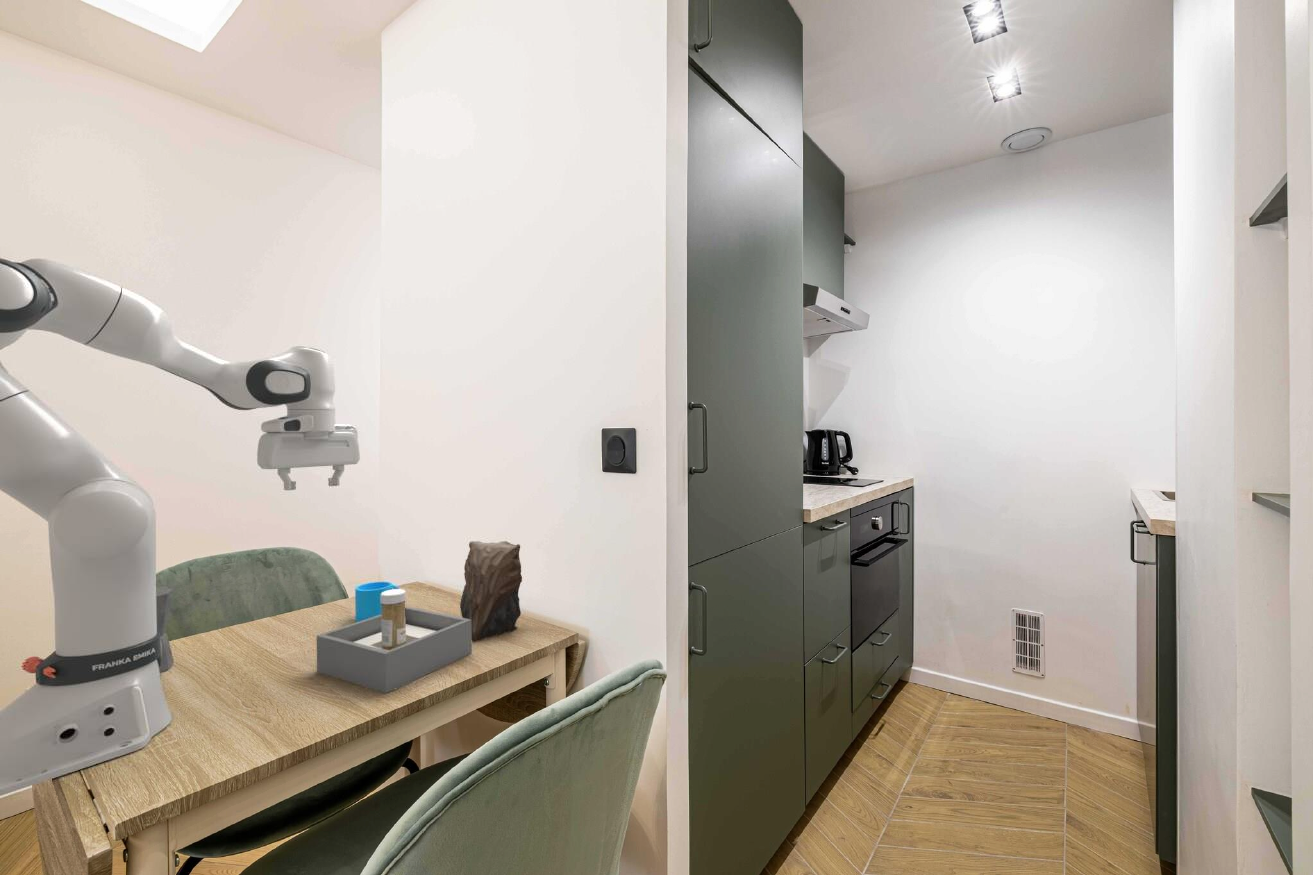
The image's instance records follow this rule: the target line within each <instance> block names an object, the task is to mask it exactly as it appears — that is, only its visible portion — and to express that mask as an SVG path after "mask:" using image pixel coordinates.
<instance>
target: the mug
mask: <svg viewBox="0 0 1313 875" xmlns="http://www.w3.org/2000/svg"><path fill="white" fill-rule="evenodd" d="M354 589H355V590H354V591H355V595H354V597H355V602H354V603H355V604H354V605H355V610H354V611H355V623H356V622H359V621H362V620H366V619H369V618H372V617H375V616H378V615H381V614H382V605H381V593H382V592H384V591H387V590H393V589H400V588H399V587H398V586H397V585H396V584H393V583H392V582H389V581H374V582H373V581H372V582H367V583H362V584H359V585H358V586H356V587H355V588H354Z"/></svg>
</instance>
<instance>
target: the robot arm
mask: <svg viewBox="0 0 1313 875" xmlns="http://www.w3.org/2000/svg"><path fill="white" fill-rule="evenodd" d="M28 330H33V331H35V330H37V331H43V332H50V333H52V334H57V335H60V336H62V337H64V338H67V339H69V340H70V341H71V340H72V341H74V342H77V343H79V344H82V345H84V346H87V347H89V348H91V349H95V350H98V351H101V352H103V353H107V354H110V355H113V356H117V357H120V358H124V359H129V360H131V361H135V362H139V363H143V364H146V365H150V366H153V367H156V368H158V369H160V370H163V371H164V372H167V373H170V374H172V375H174V376H177V377H179V378H182V379H184V380H185V381H186V380H187V381H189V382H191V383H193V384H196V385H198V386H199V387H200V386H201V387H202V388H203V389H205V390H207V391H209V392H210V393H211V394H212V395H213V396H214V397H216V398H217V399H218V400H219V401H220V402H221V403H223V404H224V405H226V406H227V407H229V408H231V409H233V410H238V411H251V410H256V409H261V408H262V409H264V408H265V409H266V408H275V407H280V406H284V405H285V406H286V414H287V415H284V416H280V417H277V418H274V419H270V420H267V421H263V422H262V423H261V425H260V429H261V431H262V432H263V434H262V435H261V436H260V438H259V440H258V444H257V451H256V452H257V454H256V456H257V458H256V460H257V461H256V462H257V465H258V466H259V467H260V468H261V469H263V470H277V475H278V477H280V480H281V481H282V482H283V490H284V491H295V490H296V489H297V486H296V485H297V481H293V480H292V479H291V478H290V476H289V474H291V469H296V468H299V469H300V468H313V467H314V468H315V467H332V470H333V471H334V472H333V473H332V476H331V477H328V478H327V481H328V482H327V483H328V487H338V486H340V478H341V477H342V475H343V473H344V472H345V466H348V465H357V464H358V463H359V461H361V460H360V459H361V454H360V444H359V441H358V430H357V429H356V428H355V426H354V425H353V426H352V425H351V424H350V423H349V424H348V423H347V424H346V423H345V424H340V423H336V407H335V405H334V395H335V391H336V387H335V386H336V384H335V381H336V380H335V371H334V364H333V361H332V359H331V357H330V355H329V354H328V353H326V352H325V351H323V350H320V349H317V348H313V347H306V346H293V347H291V348H290V349H289V350H286V351H285V352H282V353H280V354H276V355H273V356H270V357H266V358H260V359H256V360H251V361H246V362H245V361H244V362H243V361H228V360H223V359H220V358H218V357H216V356H213V355H212V354H209V353H208V352H205V351H204V350H201V349H199V348H197V347H195V346H192V345H191V344H188V343H186V342H184V341H182V340H181V339H179V338H178V337H177V336H176V335H175V334H174V333H173V331H172V326H171V322H170V319H169V316H168V314H167V313H166V312H165V311H164V310H163V309H162V308H160V307H159V306H157V305H156V304H155V303H153V302H151V301H150V300H148V299H147V298H145V297H143V296H142V295H140V294H138V293H136V292H133V291H132V290H130V289H127V288H126V287H123V286H120V285H119V284H116V283H114V282H111V281H110V280H107V279H104V278H102V277H100V276H98V275H95V274H91V273H89V272H87V271H84V270H81V269H78V268H75V267H72V266H69V265H67V264H64V263H60V262H56V261H53V260H50V259H45V258H31V259H26V260H24V261H21V262H17V261H10V260H8V259H5V258H1V257H0V351H1V350H3V349H5V348H6V347H9V346H11V345H13V344H14V343H16V342H17V341H18V340H19V339H21V338H22V337H23V335H24V334H25V333H26V332H27V331H28ZM0 491H1V492H3V493H4V494H6V495H7V496H9V497H10V498H13V499H14V500H16V501H17V502H19V503H20V504H21V505H22V506H24V507H26V508H28V509H29V510H30V511H32V512H33V513H35V514H36V515H38V516H39V517H41V518H42V519H43V520H45V521H46V522H47V523H48V524H47V525H48V543H49V557H50V558H49V560H50V570H51V581H52V589H53V598H54V599H53V600H54V602H53V603H54V642H55V647H54V651H53V652H52V653H51V654H49V655H48V656H47V657H46V658H44V659H43V658H40V657H39V656H31V657H27V658H26V659H25V660H24V662H22V665H21V666H20V667H21V668H22V670H23V671H25V672H26V673H29V674H35V684H33V685H32V686H31V687H30V688H28V689H27V690H26V691H25V692H23V693H22V694H21V695H19V697H17V698H16V699H14V700H13V701H12V702H10V703H9V704H7V705H6V706H5V707H4V708H3V709H1V710H0V797H1V796H4V795H7V794H11V793H13V792H17V791H20V790H22V789H25V788H29V787H31V786H35V785H37V784H39V783H44V782H46V781H49V780H53V779H55V778H58V777H62V776H64V775H67V774H69V773H73V772H76V771H79V770H83V769H85V768H88V767H90V766H95V765H96V764H97V765H98V764H100V763H103V762H107V761H110V760H112V759H115V758H117V757H121V756H123V755H127V754H130V753H134V752H136V751H139V750H141V749H143V748H144V747H146V746H147V745H148V743H149V742H150V741H151V739H152V738H153V737H154V736H155V735H157V734H158V733H159V732H161V731H162V730H163V729H165V728H166V727H167V726H168V725H169V724H170V723H171V722H172V719H173V715H172V713H171V711H170V709H169V706H168V704H167V701H166V698H165V694H164V690H163V685H162V680H161V673H160V672H159V667H160V666H161V657H162V644H161V640H160V633H159V632H157V613H156V587H157V521H156V520H157V514H156V508H155V507H154V502H153V499H152V497H151V495H150V494H149V492H148V491H147V490H146V489H145V488H144V487H143V486H142V485H141V484H139V483H138V482H137V481H135V480H134V479H133V478H132V477H131V476H130V475H129V474H127V473H126V472H125V471H124V470H123V469H121V468H120V467H119V466H118V465H117V464H115V463H114V462H113V461H112V460H111V459H110V458H108V457H107V456H106V455H105V454H104V453H102V452H101V451H100V450H99V449H98V448H97V447H95V446H94V445H93V444H92V443H91V442H90V441H88V440H87V438H84V436H82V435H81V434H80V433H79V432H77V430H75V429H74V428H73V427H72V426H71V425H69V423H68V422H66V421H65V420H64V419H63V418H62V417H61V416H59V415H58V414H57V413H56V411H54V410H53V409H51V407H49V406H48V405H47V404H46V403H45V402H43V400H41V399H40V398H39V397H38V396H37V395H36V394H35V393H33V391H30V389H28V388H27V386H25V385H24V384H23V383H21V382H20V381H19V380H18V379H16V378H15V377H14V376H12V375H11V374H10V373H9V371H8V370H7V369H6V368H5V366H4V365H3V363H2V361H0Z"/></svg>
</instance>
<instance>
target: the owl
mask: <svg viewBox="0 0 1313 875" xmlns="http://www.w3.org/2000/svg"><path fill="white" fill-rule="evenodd" d="M468 547H469V551H468V554H467V558H466V559H465V562H464V573H463V575H464V581H465V584H464V587H463V589H462V590H463V591H462V594H461V598H460V602H459V606H460V607H459V608H460V615H461V618H466V619H471V623H472V642H479V641H481V640H484V639H488V638H492V637H495V636H500V635H502V634H504V633H509V632H513V631H515V630H517V629H518V626H516V623H517V621H518V619H519V618H520V616H521V615H522V614H521V613H522V611H521V607H520V598H519V589H520V586H521V583H522V582H523V576H522V564H521V561H520V551H521V544H519V543H517V544H514V543H511V542H508V541H507V540H505V541H503V540H502V541H499V542H483V541H479V540H478V541H470V542H469V543H468Z"/></svg>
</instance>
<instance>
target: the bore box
mask: <svg viewBox="0 0 1313 875" xmlns="http://www.w3.org/2000/svg"><path fill="white" fill-rule="evenodd" d="M381 618H382V614H381V615H378V616H375V617H372V618H369V619H366V620H362V621H359V622H356V621H355V622H353V623H351V624H347V625H344V626H342V627H339V628H335V629H332V630H330V631H327V632H324V633H321V634H317V635H316V672H317V673H320V674H323V675H326V676H329V677H332V678H335V679H338V680H342V681H345V682H347V683H352V684H354V683H355V684H354V685H357V686H360V685H362V686H361V687H364V686H365V688H367V687H368V688H367V689H370V688H371V689H370V690H373V689H374V691H376V690H378V691H377V692H380V693H383V692H386V693H387V692H389V693H391V692H392V691H391V690H393V691H395V690H396V689H395V688H397V689H399V688H401V687H403V685H404V686H405V685H407V684H410V683H412V682H414V681H416V680H418V679H421V678H422V676H423V677H424V675H425V676H427V675H429V674H431V673H433V672H435V671H437V670H439V669H441V668H444V667H445V666H448V665H450V664H452V663H454V662H456V661H458V660H460V659H463V658H464V657H467V656H469V655H471V654H472V653H473V652H472V651H473V648H472V645H473V644H472V642H473V641H472V623H471V619H466V618H462V616H461V617H460V616H455V615H450V614H445V613H441V612H435V611H431V610H426V609H421V608H416V607H411V606H407V605H405V621H406V644H404V645H401V646H399V647H396V648H394V649H391V650H386V649H382V626H381ZM430 672H431V673H430ZM428 673H429V674H428ZM426 674H427V675H426ZM400 686H401V687H400ZM394 689H395V690H394ZM390 691H391V692H390ZM386 693H385V694H386ZM387 694H388V693H387Z"/></svg>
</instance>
